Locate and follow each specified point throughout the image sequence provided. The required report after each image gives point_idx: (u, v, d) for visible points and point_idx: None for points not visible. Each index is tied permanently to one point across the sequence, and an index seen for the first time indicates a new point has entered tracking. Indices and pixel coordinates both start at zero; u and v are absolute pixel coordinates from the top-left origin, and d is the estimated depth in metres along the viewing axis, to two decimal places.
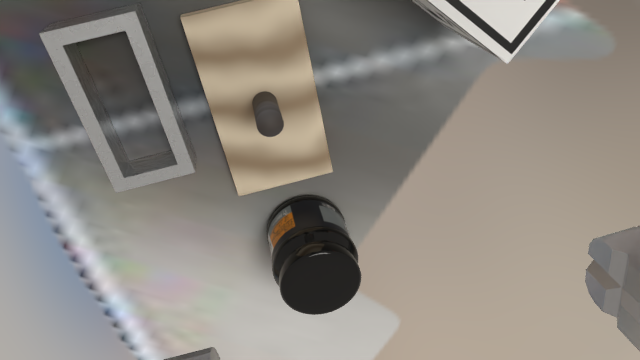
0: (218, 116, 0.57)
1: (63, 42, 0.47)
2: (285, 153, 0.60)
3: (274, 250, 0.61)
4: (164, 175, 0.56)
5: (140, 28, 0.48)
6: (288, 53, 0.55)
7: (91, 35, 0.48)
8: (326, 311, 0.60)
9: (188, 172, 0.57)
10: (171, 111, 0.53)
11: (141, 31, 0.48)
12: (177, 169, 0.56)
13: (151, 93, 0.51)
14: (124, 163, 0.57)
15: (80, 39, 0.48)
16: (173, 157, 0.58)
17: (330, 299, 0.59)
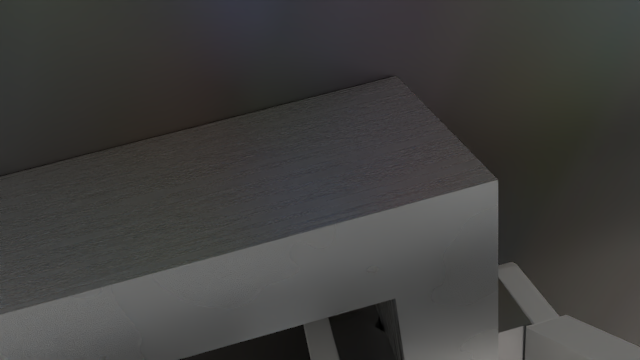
0: None
1: (413, 303, 0.07)
2: None
3: None
4: None
5: None
6: None
7: None
8: None
9: None
10: None
11: None
12: None
13: None
14: None
15: None
16: None
17: None
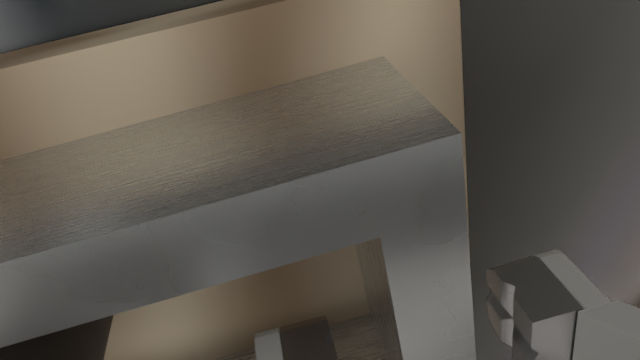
0: None
1: (396, 242, 0.08)
2: None
3: None
4: None
5: None
6: None
7: (414, 345, 0.10)
8: None
9: None
10: None
11: None
12: None
13: None
14: None
15: (401, 308, 0.09)
16: None
17: None
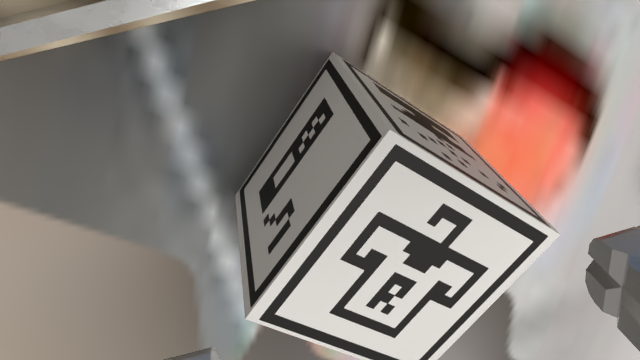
0: None
1: None
2: None
3: None
4: None
5: None
6: None
7: None
8: None
9: None
10: (90, 30, 0.30)
11: None
12: None
13: None
14: None
15: None
16: None
17: None
